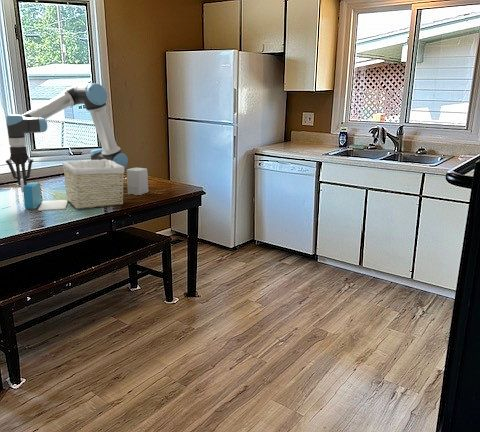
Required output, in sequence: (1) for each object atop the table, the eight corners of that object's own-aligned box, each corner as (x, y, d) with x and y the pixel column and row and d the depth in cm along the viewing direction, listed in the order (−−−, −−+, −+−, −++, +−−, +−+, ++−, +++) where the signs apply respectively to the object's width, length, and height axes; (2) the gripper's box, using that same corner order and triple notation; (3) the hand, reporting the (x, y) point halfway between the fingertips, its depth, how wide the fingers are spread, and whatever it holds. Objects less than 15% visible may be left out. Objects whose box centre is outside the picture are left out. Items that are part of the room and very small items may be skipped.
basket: (111, 194, 261) (110, 157, 255) (127, 204, 239) (126, 165, 233) (63, 199, 246) (60, 160, 240) (76, 210, 225) (73, 168, 219)
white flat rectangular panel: (68, 200, 245) (68, 199, 245) (65, 209, 229) (65, 208, 229) (43, 202, 242) (42, 200, 242) (38, 210, 225) (37, 209, 225)
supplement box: (149, 193, 266) (148, 168, 262) (139, 196, 258) (138, 170, 254) (136, 191, 269) (135, 167, 265) (127, 194, 262) (125, 169, 257)
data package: (33, 203, 238) (31, 181, 235) (41, 203, 239) (40, 182, 235) (24, 209, 227) (22, 186, 223) (33, 209, 227) (32, 187, 224)
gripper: (1, 147, 218) (8, 193, 224) (30, 146, 221) (36, 192, 228) (5, 145, 224) (11, 190, 231) (33, 144, 228) (38, 189, 235)
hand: (23, 191), depth 229 cm, fingers closed
